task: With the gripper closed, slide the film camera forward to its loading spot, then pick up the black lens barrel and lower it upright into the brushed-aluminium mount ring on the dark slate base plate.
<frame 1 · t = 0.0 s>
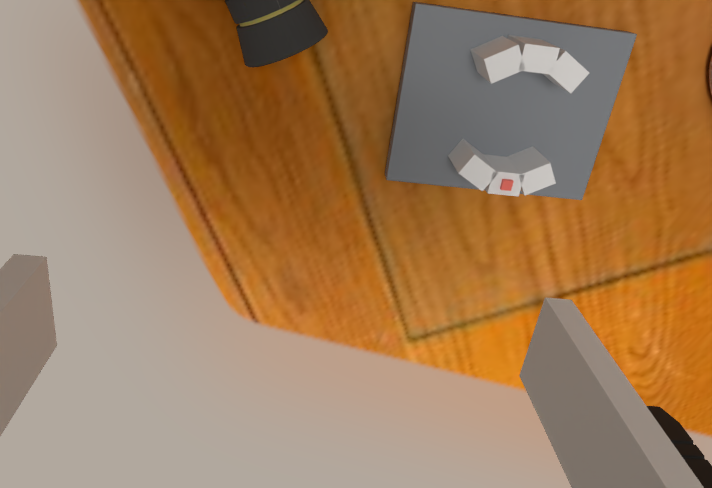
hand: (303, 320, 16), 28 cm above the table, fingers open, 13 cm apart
mount: (501, 105, 42), on the table
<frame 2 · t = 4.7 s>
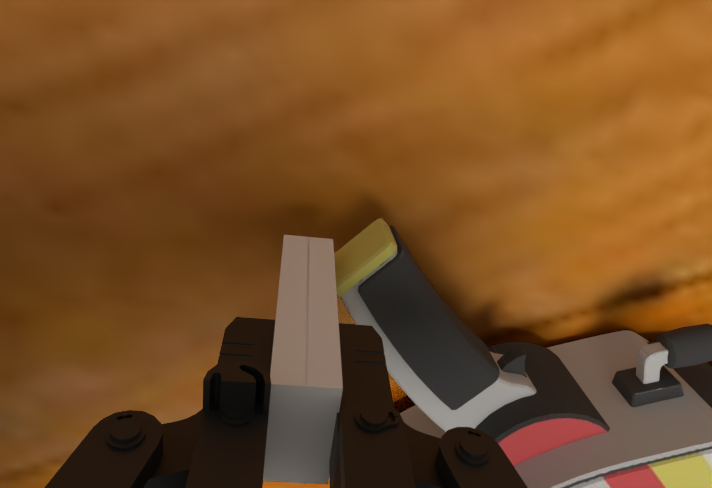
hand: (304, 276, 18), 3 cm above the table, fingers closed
film camera: (574, 327, 24), on the table, touching gripper
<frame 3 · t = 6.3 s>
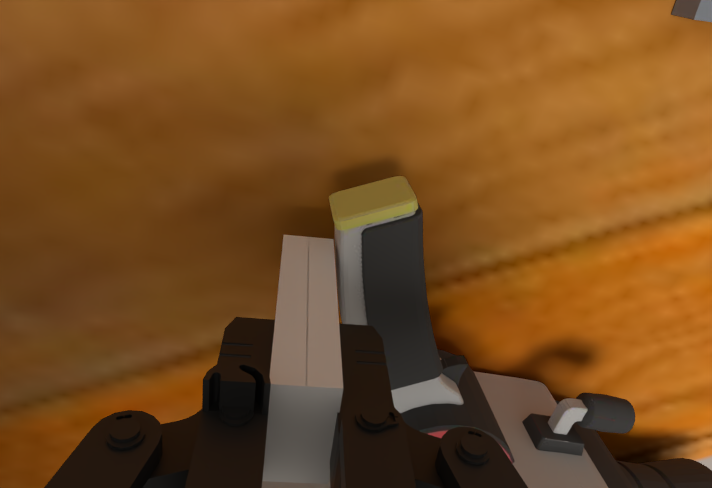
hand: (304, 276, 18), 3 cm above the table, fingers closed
film camera: (498, 362, 24), on the table, touching gripper
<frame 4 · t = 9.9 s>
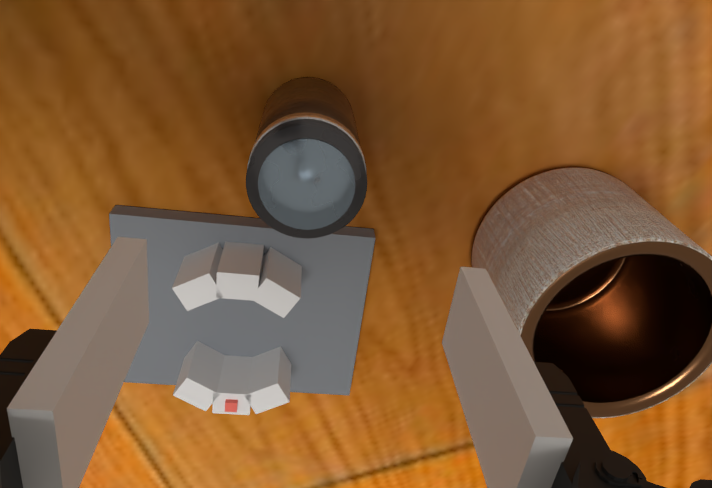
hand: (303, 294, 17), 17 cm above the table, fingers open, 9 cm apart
lens: (308, 123, 33), on the table
planter: (553, 243, 37), on the table
mount: (243, 302, 38), on the table
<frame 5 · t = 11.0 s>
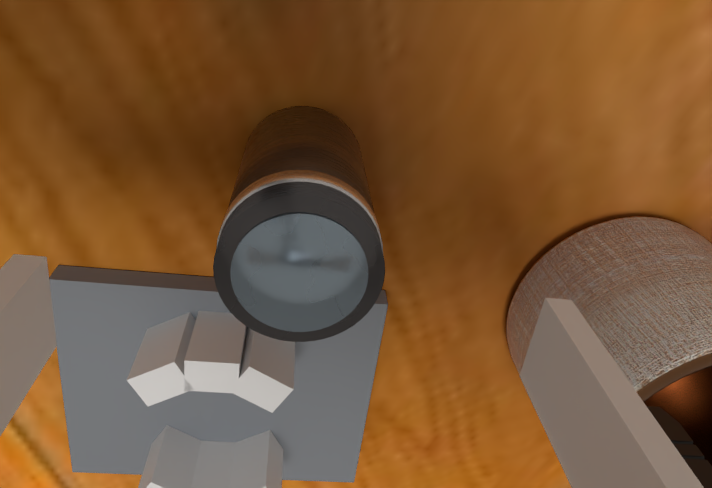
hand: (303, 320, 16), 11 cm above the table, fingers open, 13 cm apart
lens: (303, 164, 25), on the table
planter: (605, 304, 30), on the table
mount: (223, 377, 30), on the table
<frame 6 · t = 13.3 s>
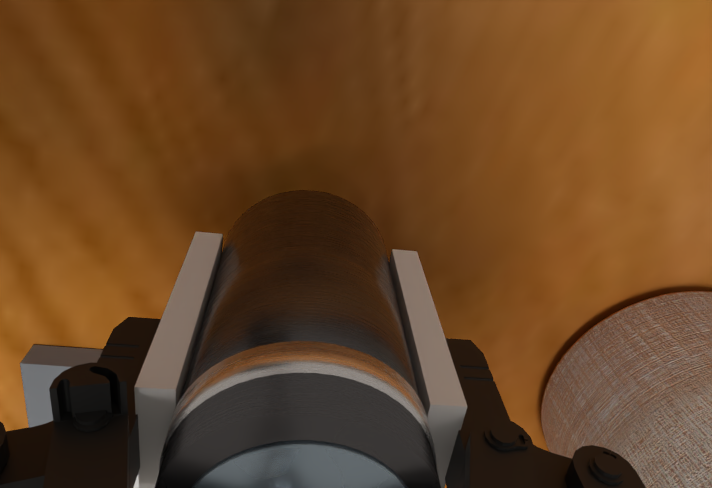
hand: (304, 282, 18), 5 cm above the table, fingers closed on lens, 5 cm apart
lens: (305, 266, 18), point 4 cm above the table, touching gripper
planter: (653, 385, 27), on the table
mount: (220, 465, 27), on the table
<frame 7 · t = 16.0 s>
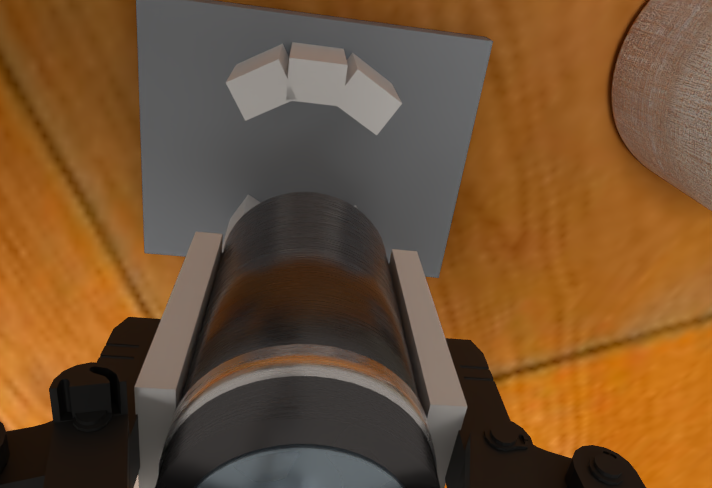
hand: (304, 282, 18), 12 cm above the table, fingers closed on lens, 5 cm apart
lens: (305, 268, 18), point 12 cm above the table, touching gripper
mount: (307, 146, 29), on the table
when the fingers open (3 cm above the table, at t = 18.4 s): lens moves 1 cm, resting on mount.
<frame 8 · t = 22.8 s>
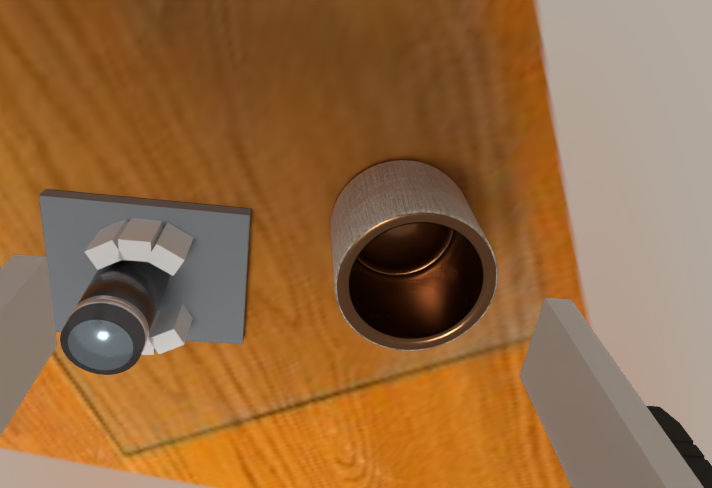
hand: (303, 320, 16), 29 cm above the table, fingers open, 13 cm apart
lens: (136, 272, 46), point 1 cm above the table, touching mount
planter: (397, 221, 47), on the table
mount: (152, 268, 47), on the table
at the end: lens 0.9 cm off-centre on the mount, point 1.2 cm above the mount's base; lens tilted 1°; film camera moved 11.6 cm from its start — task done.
